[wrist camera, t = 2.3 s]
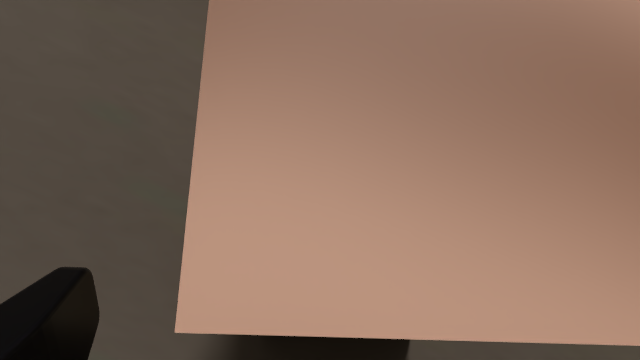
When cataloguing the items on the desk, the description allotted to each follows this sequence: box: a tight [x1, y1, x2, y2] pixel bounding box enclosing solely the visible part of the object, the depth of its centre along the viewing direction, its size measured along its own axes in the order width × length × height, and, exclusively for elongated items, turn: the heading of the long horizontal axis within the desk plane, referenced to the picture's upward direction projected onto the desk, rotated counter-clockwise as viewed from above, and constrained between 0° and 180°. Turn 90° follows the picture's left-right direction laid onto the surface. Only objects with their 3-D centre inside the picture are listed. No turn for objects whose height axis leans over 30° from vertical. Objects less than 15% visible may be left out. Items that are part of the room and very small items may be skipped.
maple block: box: [175, 0, 640, 346], centre depth 11 cm, size 5×5×13 cm
